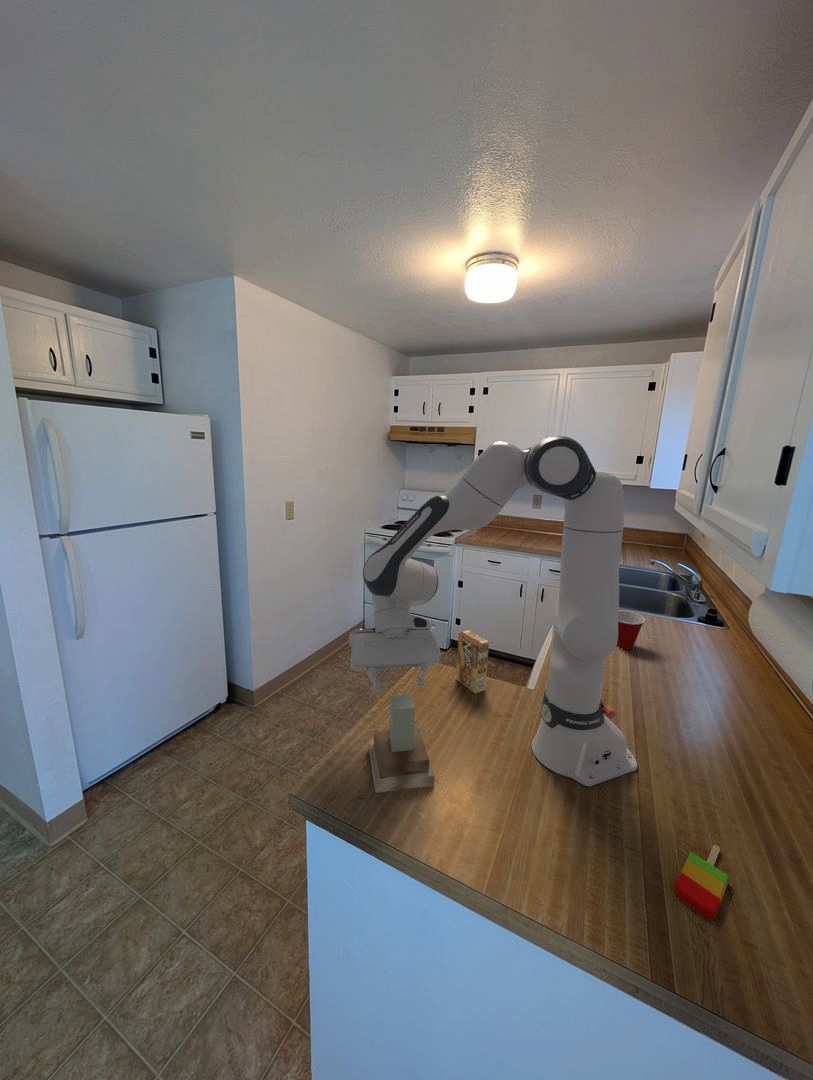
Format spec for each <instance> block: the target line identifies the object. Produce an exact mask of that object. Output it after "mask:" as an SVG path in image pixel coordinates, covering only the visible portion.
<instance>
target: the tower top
mask: <svg viewBox="0 0 813 1080" xmlns="http://www.w3.org/2000/svg"><path fill="white" fill-rule="evenodd" d="M373 740H374V747H375V752H376V758H377V763H378V769H379V775H380V778H388V777H395V776H403V775H410V774H418V773H425V772H429V761H430V758H429V755H428V751H427V749H426V746H425V743H424V740H423V738H422V735H421V731H420V728H419V726H414V748H413V750H409V751H399V752H392V749H391V743H390V729H387V730H386V729H385V730H377V731H374V732H373Z"/></svg>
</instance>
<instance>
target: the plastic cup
mask: <svg viewBox="0 0 813 1080" xmlns="http://www.w3.org/2000/svg"><path fill="white" fill-rule="evenodd" d="M645 622H646V618H645V617H644V616H643V615H642V614H639V613H637V612H633V611H629V610H619V619H618V640H617V645H616V646H618V647H619V649H621V648H622V649H621V650H624V649H627V650H626V651H631V650H632V649H633V647H634V646H635V644H636V642H637V639H638V636H639V634H640V631H641V629H642V626H643V625H644V623H645ZM618 647H617V648H618ZM630 649H631V650H630Z"/></svg>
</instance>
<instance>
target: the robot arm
mask: <svg viewBox="0 0 813 1080" xmlns="http://www.w3.org/2000/svg"><path fill="white" fill-rule="evenodd" d="M587 453H588V452H586V450H585V449H584V447H583V446H582V445H581V444H580V442H578V441H577V440H575V439H573V438H571V437H568V436H565V435H557V436H549V437H546V438H544V439H541V440H540V441H538V442H536V443H535V444H534V445H532V446H530V447H529V448H526V449H521V448H519V447H517V446H515V445H514V444H512V443H511V442H510V443H509V442H506V441H496V442H493V443H491V444H490V445H488V447H486V448H485V449H484V450H483V451H482V452H481V453H480V454H479V455H478V456H477V457H476V459H475V460H474V461H472V463H471V464H470V465H469V466H468V468H467V469H466V470H465V472H464V473H463V474H462V476H461V477H460V478H459V479H458V480H457V481H456V482H455V483H454V484H453V485H452V486H451V487H450V488H449V489H448V490H446V491H444V492H442V493H441V494H439V495H435V496H433V497H431V498H429V499H428V500H427V501H426V502H424V503H423V505H421V506H420V507H419V508H418V509H417V510H416V511H415V513H414V514H412V516H410V518H409V519H408V520H407V521H406V522H405V523H404V524H403V525H402V526H401V527H400V528H399V529H398V530H397V532H396V533H394V534H393V536H392V537H390V539H389V540H388V541H387V542H386V543H385V544H384V545H382V546H381V547H380V548H378V549H377V550H376V551H375V552H373V553H372V554H371V555H370V556H369V557H368V558H367V560H366V562H365V563H364V565H363V569H362V577H363V580H364V583H365V584H364V585H365V586H366V588H367V589H368V590H369V593H371V602H372V604H373V607H374V610H373V614H372V615H373V627H368V628H355V629H354V630H353V631H351V632H350V633H349V634H348V645H349V647H350V648H351V654H350V655H351V657H350V667H351V669H352V671H355V672H362V671H367V677H368V678H369V679H370V681H371V682H372V687H373V691H381V690H382V680H381V679H377V677H376V676H375V672H376V670H377V671H378V670H389V669H392V670H393V669H403V668H418V671H419V672H420V675H419V676H417V677H416V678H415V683H416V684H415V687H416V688H423V687H424V686H425V681H424V677H425V675H426V672H427V669H428V667H432V666H433V667H434V666H437V665H438V664H439V663H440V661H441V658H442V653H441V648H440V645H439V641H438V637H437V635H436V634H435V632H434V631H433V630H431V629H432V621H431V620H430V619H429V618H424V617H421V616H417V615H413V614H411V611H410V609H411V607H415V606H419V605H423V604H425V603H428V602H430V601H431V600H432V599H433V598H434V597H435V596H436V594H437V592H438V587H439V574H438V571H437V570H436V568H435V567H433V566H432V565H430V564H428V563H426V562H423V561H419V560H416V559H413V558H411V557H412V556H413V555H414V554H415V553H416V552H417V551H418V549H419V548H421V546H422V545H424V543H425V542H426V541H427V540H429V538H431V537H432V536H434V535H436V534H439V533H441V532H445V531H454V530H455V531H473V530H475V531H476V530H479V529H482V528H485V527H486V526H488V525H489V524H490V523H491V522H492V521H494V519H495V518H497V516H498V515H499V514H500V512H502V510H503V509H504V507H505V506H506V505H507V503H508V501H510V500H511V498H512V497H513V496H514V495H515V494H516V493H517V491H519V490H521V489H522V488H525V487H527V486H530V487H534V488H535V489H537V490H539V491H540V492H543V493H546V494H549V495H551V496H555V497H558V498H562V500H563V505H564V517H563V526H562V540H561V542H562V543H561V550H560V563H559V565H560V567H559V568H560V569H559V570H560V572H559V574H560V575H559V592H558V595H557V597H556V600H555V606H554V615H553V623H552V624H553V625H552V636H551V644H550V645H551V647H550V658H549V659H550V660H549V667H548V675H547V682H546V688H545V689H544V692H543V697H542V698H543V699H542V704H541V705H542V706H541V719H540V722H539V725H538V729H537V731H536V733H535V736H534V738H533V739H532V742H531V749H532V752H533V755H534V756H535V758H537V760H538V761H539V762H540V763H541V764H542V765H543V766H544V767H546V768H547V769H549V770H551V771H552V772H554V773H556V774H558V775H561V776H565V777H567V778H570V779H573V780H575V781H576V782H578V783H579V784H581V785H583V786H586V787H592V786H595V785H597V784H601V783H604V782H606V781H609V780H612V779H614V778H618V777H620V776H623V775H626V774H629V773H631V772H635V771H636V770H637V769H638V764H637V763H638V762H637V760H636V757H635V756H634V755H633V753H632V752H631V751H630V749H629V748H628V745H627V744H628V743H627V740H626V737H625V735H624V733H623V732H622V730H620V728H619V727H618V726H617V725H616V724H615V723H614V722H613V721H611V719H614V718H615V717H616V715H617V712H616V710H615V709H613V708H612V707H611V706H610V705H605V704H604V702H603V701H602V700H601V699H602V698H601V697H602V691H603V685H604V678H605V659H607V658H608V657H610V656H611V655H612V654H613V652H614V651H615V649H616V648H617V647H616V645H617V640H618V619H619V611H620V562H621V553H622V545H623V544H622V542H623V533H624V525H625V524H624V523H625V500H624V499H625V498H624V488H623V484H622V482H621V480H620V479H619V478H618V477H617V476H615V475H613V474H611V473H608V472H604V471H596V469H595V468H594V466H593V463H592V462H591V460H590V458H589V455H588V454H587Z"/></svg>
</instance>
